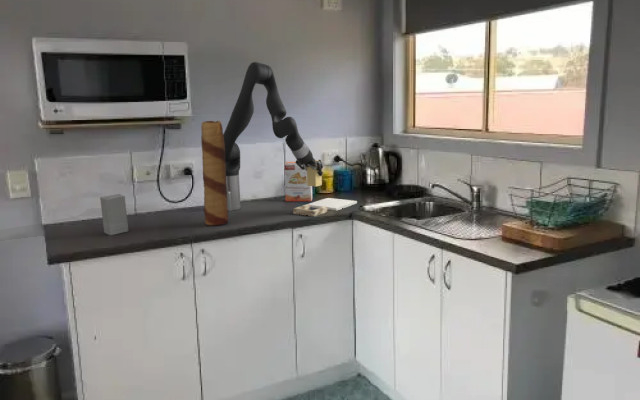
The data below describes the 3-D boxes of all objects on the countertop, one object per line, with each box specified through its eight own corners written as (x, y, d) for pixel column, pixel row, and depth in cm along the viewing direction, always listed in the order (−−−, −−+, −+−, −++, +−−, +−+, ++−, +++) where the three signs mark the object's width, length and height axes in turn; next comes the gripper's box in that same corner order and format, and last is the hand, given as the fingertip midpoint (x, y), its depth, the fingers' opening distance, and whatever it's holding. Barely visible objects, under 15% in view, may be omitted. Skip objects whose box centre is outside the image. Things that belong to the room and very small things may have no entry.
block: (315, 186, 244) (315, 161, 242) (307, 185, 247) (306, 160, 244) (321, 185, 248) (321, 160, 246) (313, 184, 251) (312, 159, 248)
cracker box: (285, 201, 274) (283, 162, 270) (287, 199, 280) (285, 161, 275) (311, 202, 272) (310, 162, 268) (312, 199, 278) (311, 161, 274)
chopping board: (336, 210, 250) (336, 208, 250) (306, 206, 260) (306, 204, 260) (356, 203, 266) (356, 201, 266) (327, 200, 276) (327, 197, 276)
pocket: (313, 216, 239) (313, 211, 238) (293, 213, 245) (292, 208, 245) (327, 211, 248) (327, 206, 248) (307, 209, 255) (306, 204, 254)
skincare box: (122, 229, 222) (119, 193, 219) (129, 232, 217) (126, 195, 214) (102, 233, 216) (98, 196, 213) (109, 236, 211) (105, 198, 208)
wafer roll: (229, 220, 235) (223, 120, 226) (228, 225, 225) (223, 121, 216) (206, 221, 233) (199, 121, 225) (204, 227, 223) (197, 122, 214)
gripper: (317, 146, 233) (332, 169, 246) (292, 144, 241) (307, 167, 253) (310, 158, 230) (325, 181, 242) (285, 157, 238) (301, 179, 250)
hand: (316, 174), depth 248 cm, fingers closed on block, 5 cm apart
